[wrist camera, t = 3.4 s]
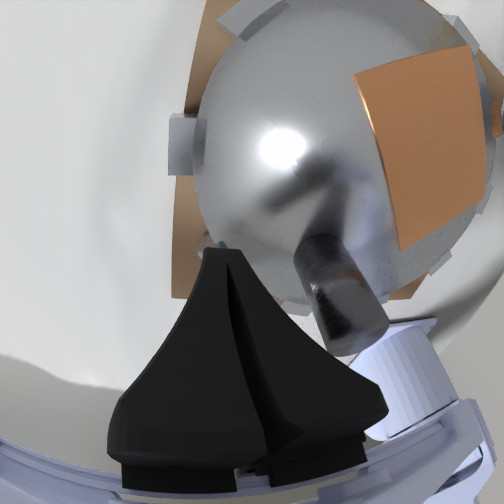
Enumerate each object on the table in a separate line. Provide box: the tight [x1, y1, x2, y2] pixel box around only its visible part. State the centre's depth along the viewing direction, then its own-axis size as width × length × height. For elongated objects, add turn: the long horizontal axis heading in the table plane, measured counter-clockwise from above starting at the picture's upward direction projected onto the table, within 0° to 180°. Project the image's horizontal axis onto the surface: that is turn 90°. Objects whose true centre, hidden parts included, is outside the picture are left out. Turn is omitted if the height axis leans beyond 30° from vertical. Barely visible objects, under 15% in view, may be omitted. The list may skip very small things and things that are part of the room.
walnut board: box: [172, 0, 504, 300], centre depth 11 cm, size 18×17×1 cm
